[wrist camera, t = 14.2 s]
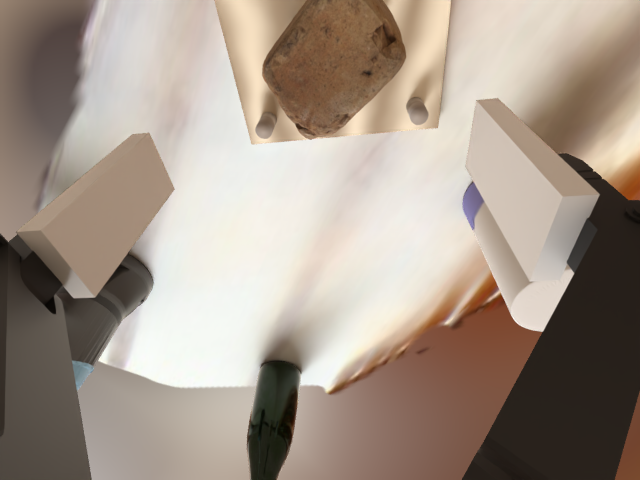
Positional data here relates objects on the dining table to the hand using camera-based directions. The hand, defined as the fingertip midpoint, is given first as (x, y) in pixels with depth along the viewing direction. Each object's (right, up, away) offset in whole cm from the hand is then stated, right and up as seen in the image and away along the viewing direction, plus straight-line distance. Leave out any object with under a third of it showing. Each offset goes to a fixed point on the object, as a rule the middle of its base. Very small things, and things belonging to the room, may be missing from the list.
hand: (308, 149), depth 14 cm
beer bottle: (-9, -36, +71) cm, 81 cm away
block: (+2, +19, +22) cm, 29 cm away
